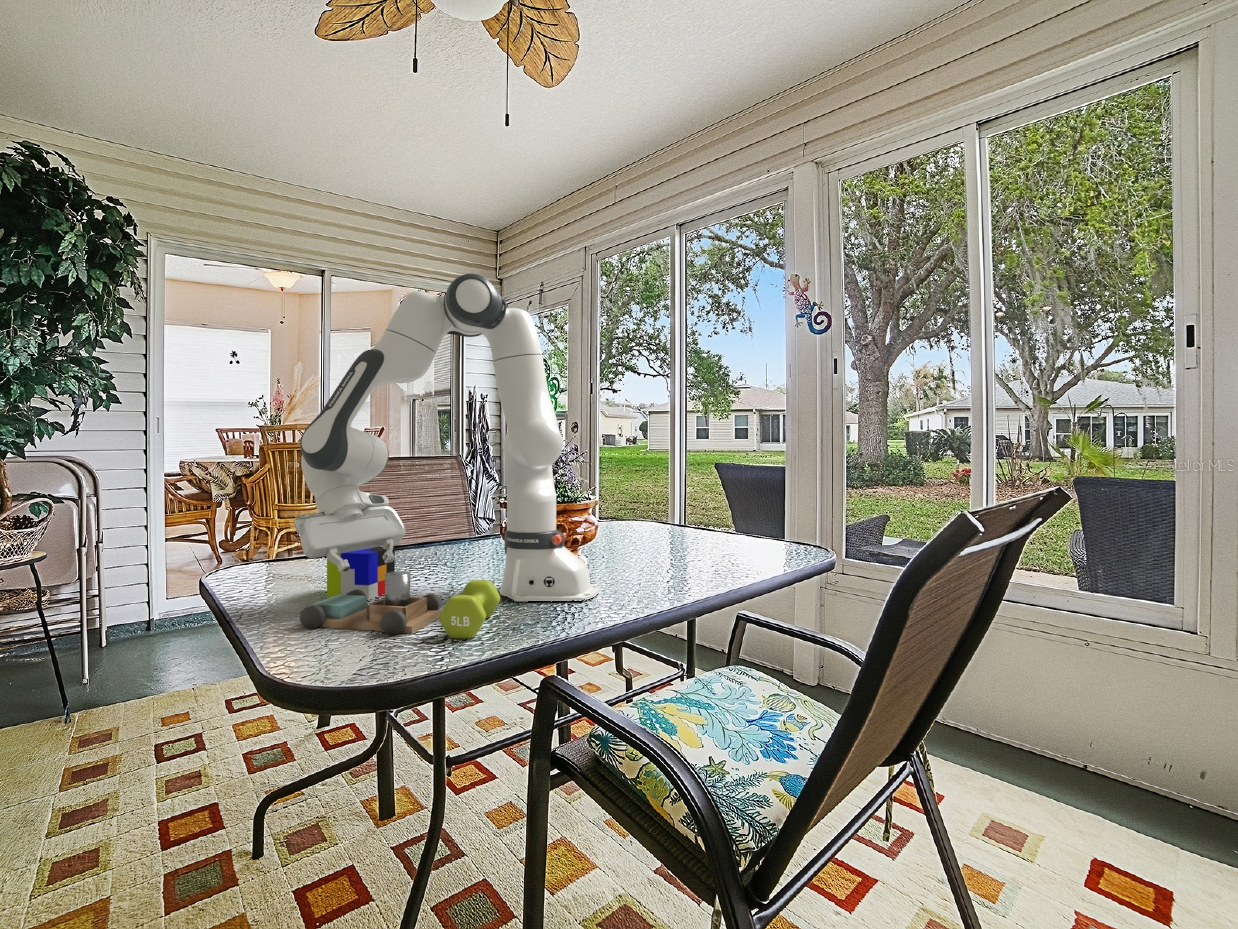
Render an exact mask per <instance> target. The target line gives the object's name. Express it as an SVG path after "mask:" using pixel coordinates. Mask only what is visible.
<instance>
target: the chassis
mask: <svg viewBox="0 0 1238 929" xmlns="http://www.w3.org/2000/svg"><path fill="white" fill-rule="evenodd" d="M441 603H442V602H441V600H440V598H439V597H438V595H436V594H434V593H427V594H425V595H423V596H419V597H418V596H410V604H409V605H407V606H405V607H401V606H385V597H384V598H381V599H379V600H376V601H374V602H371V603H369V604H367V596H366V595H365V593H364V592H363V591H361V590H358V589H356V590H353V591H350V592H348V593H347V594H346V595H341V594H339V595H336V596H333V597H330V598H325V599H323V600H319V601H317V602H314V603H312V604H311V605H309V606H307V607H304V608H303V609H302V610H301V611H300V613H299V621H300V626H301V627H303V628H305V629H307V630H314V629H316V628H327V629H328V628H329V629H342V630H343V629H345V630H357V631H358V630H359V631H370V630H375V631H374V632H384V633H385V634H386V635H390V636H395V635H397V634H402V633H403V634H413V633H415V632H417V631H419V630H421V629H422V628H425V627H426V626H428V625H429V624H432V623H434V622H436V621H437V620H438V619H439V616H440V614H441V612H442V610H440V609H441V605H442V604H441ZM439 620H440V619H439ZM424 626H425V627H424Z"/></svg>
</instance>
